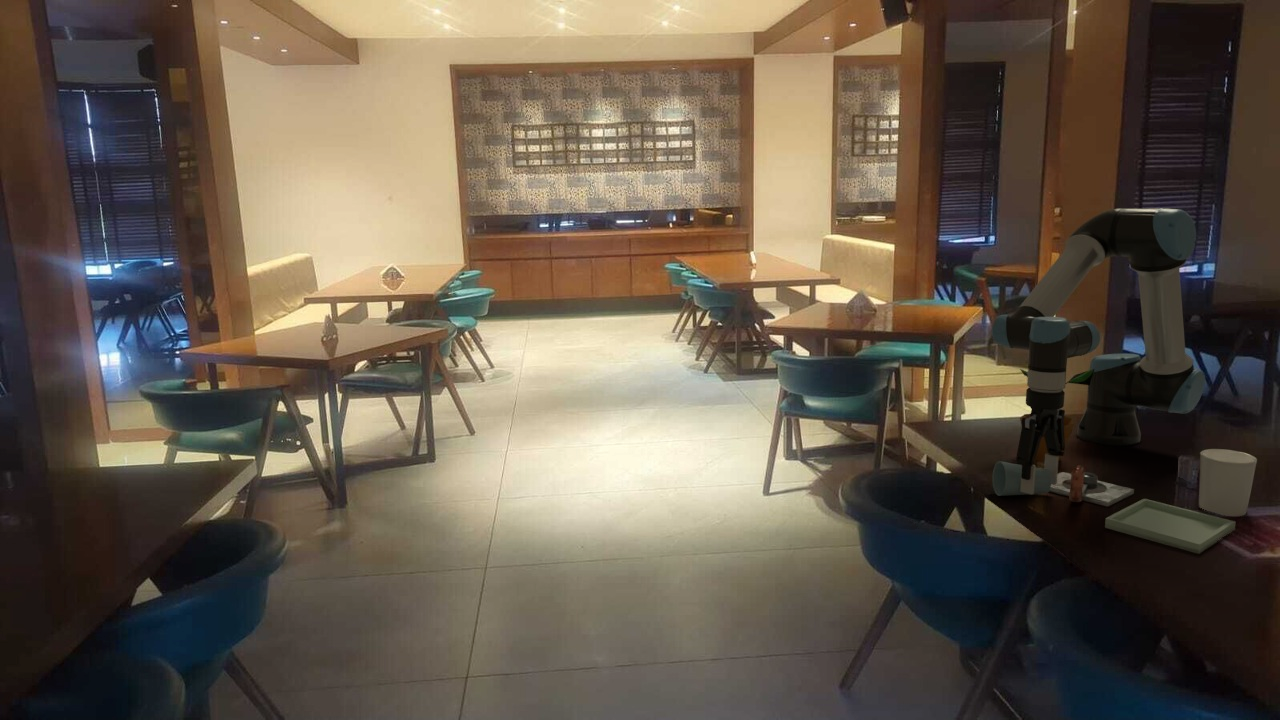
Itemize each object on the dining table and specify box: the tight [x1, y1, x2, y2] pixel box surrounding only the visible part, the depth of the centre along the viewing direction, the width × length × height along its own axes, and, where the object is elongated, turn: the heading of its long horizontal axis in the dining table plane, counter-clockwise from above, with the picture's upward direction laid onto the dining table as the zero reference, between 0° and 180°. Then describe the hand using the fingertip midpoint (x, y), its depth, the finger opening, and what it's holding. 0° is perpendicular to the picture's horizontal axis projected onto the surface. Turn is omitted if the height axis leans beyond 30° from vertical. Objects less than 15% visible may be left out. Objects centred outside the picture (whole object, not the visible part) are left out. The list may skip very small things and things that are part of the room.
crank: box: [1068, 464, 1099, 503], centre depth 188 cm, size 16×5×7 cm, turn 144°
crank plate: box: [1048, 471, 1135, 507], centre depth 194 cm, size 12×16×1 cm
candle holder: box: [1198, 448, 1258, 517], centre depth 180 cm, size 10×10×12 cm
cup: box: [992, 460, 1051, 497], centre depth 191 cm, size 8×8×10 cm
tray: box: [1104, 498, 1236, 555], centre depth 171 cm, size 17×17×2 cm
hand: (1038, 487), depth 190 cm, fingers closed on cup, 9 cm apart
